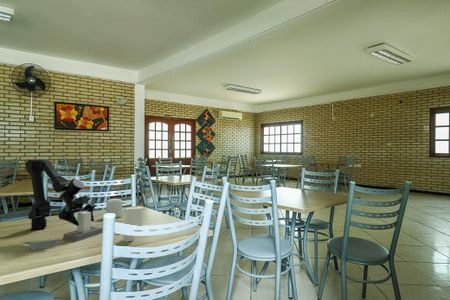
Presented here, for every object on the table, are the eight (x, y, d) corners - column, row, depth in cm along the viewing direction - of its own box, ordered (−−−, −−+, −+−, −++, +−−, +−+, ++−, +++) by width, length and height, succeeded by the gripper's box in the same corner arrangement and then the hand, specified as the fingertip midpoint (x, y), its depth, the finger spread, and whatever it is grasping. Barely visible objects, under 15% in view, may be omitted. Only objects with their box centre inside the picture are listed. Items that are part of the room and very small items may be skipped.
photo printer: (121, 215, 188) (121, 197, 189) (122, 217, 185) (123, 198, 185) (105, 217, 183) (105, 199, 183) (106, 218, 179) (106, 200, 179)
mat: (30, 251, 120) (31, 249, 120) (29, 244, 128) (29, 243, 128) (59, 246, 127) (59, 245, 127) (56, 240, 135) (56, 238, 135)
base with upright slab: (127, 231, 151) (127, 210, 152) (124, 227, 159) (125, 207, 160) (143, 230, 156) (144, 209, 156) (140, 226, 164) (141, 206, 164)
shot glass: (124, 238, 141) (124, 224, 141) (137, 237, 141) (138, 224, 141) (120, 242, 134) (120, 228, 134) (134, 242, 134) (135, 228, 135)
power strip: (76, 242, 132) (76, 235, 132) (63, 240, 136) (63, 232, 136) (102, 233, 147) (102, 227, 147) (89, 231, 151) (90, 225, 151)
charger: (84, 237, 139) (84, 213, 139) (76, 236, 140) (77, 212, 141) (90, 235, 142) (91, 212, 142) (83, 233, 144) (84, 211, 144)
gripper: (62, 192, 134) (78, 217, 130) (93, 188, 152) (108, 209, 148) (51, 207, 137) (66, 231, 133) (82, 201, 155) (97, 222, 150)
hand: (86, 223), depth 141 cm, fingers open, 9 cm apart
